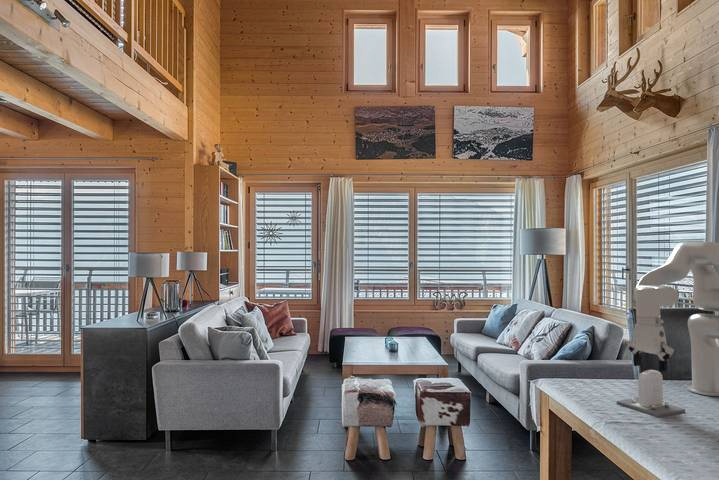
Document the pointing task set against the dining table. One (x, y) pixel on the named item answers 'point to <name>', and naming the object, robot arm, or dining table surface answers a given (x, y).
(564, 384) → the dining table surface
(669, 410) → the tray
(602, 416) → the dining table surface
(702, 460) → the dining table surface
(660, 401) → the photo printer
